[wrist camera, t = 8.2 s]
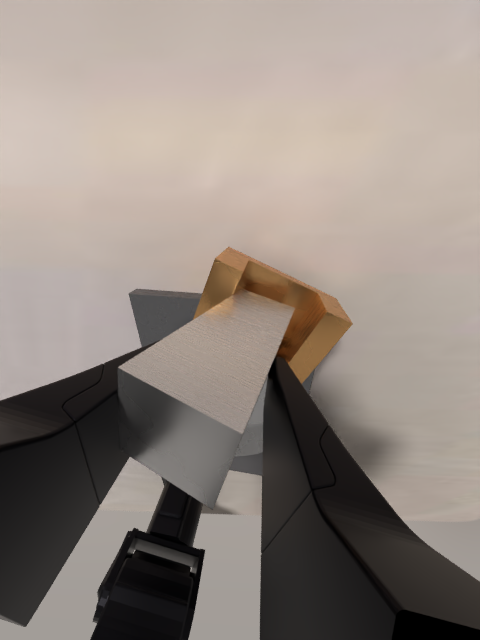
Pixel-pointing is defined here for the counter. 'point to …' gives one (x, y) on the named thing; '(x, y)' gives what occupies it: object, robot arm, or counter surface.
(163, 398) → the gray rectangular block
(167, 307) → the base plate
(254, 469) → the mat
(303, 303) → the oval metal lid
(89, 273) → the counter surface
